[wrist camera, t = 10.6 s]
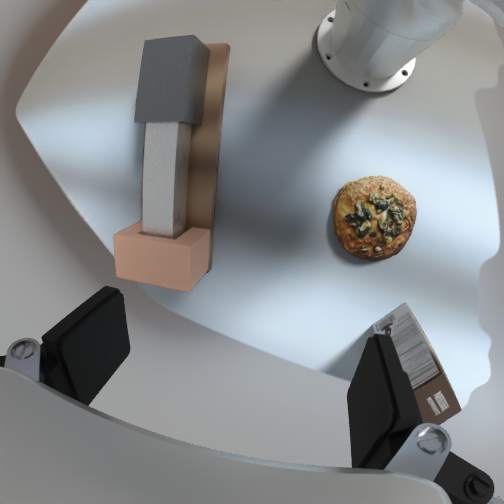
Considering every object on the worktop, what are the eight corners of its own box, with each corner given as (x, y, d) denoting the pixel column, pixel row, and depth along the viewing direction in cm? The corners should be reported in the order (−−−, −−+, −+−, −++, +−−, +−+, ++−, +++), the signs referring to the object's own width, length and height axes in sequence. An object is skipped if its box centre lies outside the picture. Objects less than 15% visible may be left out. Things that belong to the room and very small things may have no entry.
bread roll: (367, 275, 38) (373, 286, 33) (313, 212, 38) (312, 215, 33) (428, 221, 34) (441, 226, 30) (375, 156, 35) (383, 151, 30)
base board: (159, 51, 32) (154, 48, 31) (230, 47, 31) (227, 43, 30) (147, 257, 43) (142, 261, 41) (211, 268, 41) (208, 272, 40)
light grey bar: (163, 110, 33) (147, 107, 29) (193, 110, 32) (179, 106, 29) (157, 251, 39) (143, 261, 35) (184, 255, 39) (172, 267, 35)
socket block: (141, 220, 39) (113, 234, 33) (210, 229, 38) (190, 246, 31) (142, 257, 41) (116, 277, 34) (208, 269, 40) (189, 292, 33)
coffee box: (428, 339, 39) (463, 412, 24) (395, 361, 41) (418, 438, 27) (405, 300, 38) (444, 373, 23) (369, 324, 40) (391, 405, 25)
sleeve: (166, 53, 31) (144, 40, 25) (210, 50, 30) (194, 34, 25) (158, 124, 34) (134, 122, 29) (202, 125, 34) (183, 121, 28)
